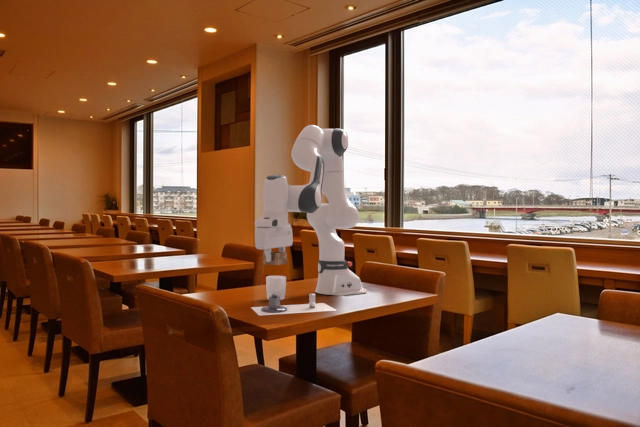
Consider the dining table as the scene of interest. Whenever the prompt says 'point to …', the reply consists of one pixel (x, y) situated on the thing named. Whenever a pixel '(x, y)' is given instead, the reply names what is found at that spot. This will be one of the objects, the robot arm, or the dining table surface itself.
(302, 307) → the board
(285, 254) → the collar
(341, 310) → the dining table surface
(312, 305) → the stand rod
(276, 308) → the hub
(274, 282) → the white cup
